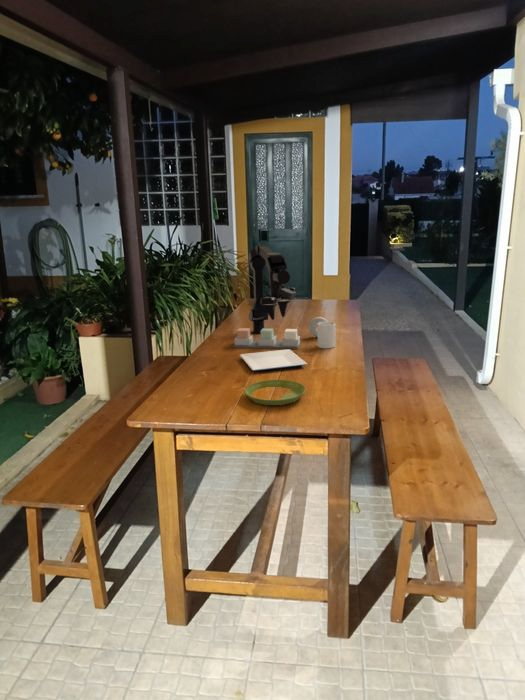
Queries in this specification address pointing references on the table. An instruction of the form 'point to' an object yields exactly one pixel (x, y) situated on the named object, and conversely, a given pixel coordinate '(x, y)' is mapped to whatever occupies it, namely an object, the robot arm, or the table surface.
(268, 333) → the sage button
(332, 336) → the mug
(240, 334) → the terracotta button
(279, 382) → the saucer
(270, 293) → the robot arm
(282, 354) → the plate
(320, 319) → the donut
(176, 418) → the table surface
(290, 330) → the cream button
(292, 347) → the button panel
